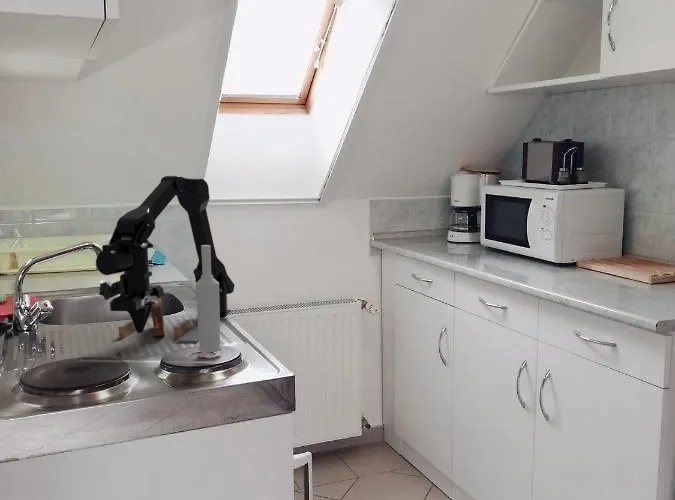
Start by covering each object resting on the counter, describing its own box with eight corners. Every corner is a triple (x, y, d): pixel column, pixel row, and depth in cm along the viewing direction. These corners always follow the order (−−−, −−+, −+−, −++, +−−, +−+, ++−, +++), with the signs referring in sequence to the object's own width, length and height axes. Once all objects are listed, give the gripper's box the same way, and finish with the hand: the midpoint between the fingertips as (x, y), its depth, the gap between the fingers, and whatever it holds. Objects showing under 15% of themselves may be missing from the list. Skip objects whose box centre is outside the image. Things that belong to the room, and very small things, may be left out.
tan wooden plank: (133, 329, 183) (132, 318, 183) (190, 330, 182) (189, 319, 181) (119, 338, 174) (118, 326, 174) (178, 339, 173) (178, 327, 172)
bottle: (226, 353, 159) (221, 244, 156) (214, 359, 154) (210, 247, 151) (206, 351, 160) (201, 244, 157) (194, 357, 156) (189, 246, 153)
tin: (164, 339, 173) (163, 306, 172) (151, 340, 172) (150, 306, 171) (164, 326, 188) (162, 295, 187) (152, 326, 187) (150, 296, 186)
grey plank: (197, 327, 185) (197, 325, 185) (215, 327, 184) (215, 325, 184) (177, 342, 169) (177, 340, 169) (197, 342, 169) (197, 340, 169)
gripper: (120, 263, 176) (123, 323, 178) (85, 275, 157) (90, 342, 159) (162, 263, 175) (165, 323, 177) (133, 275, 156) (137, 343, 158)
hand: (139, 332), depth 168 cm, fingers closed
